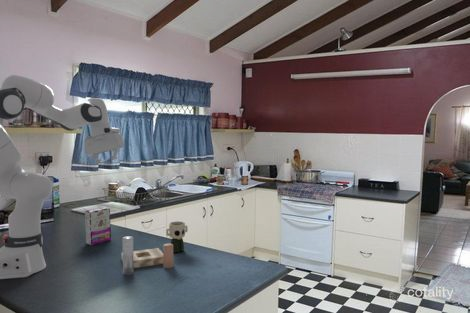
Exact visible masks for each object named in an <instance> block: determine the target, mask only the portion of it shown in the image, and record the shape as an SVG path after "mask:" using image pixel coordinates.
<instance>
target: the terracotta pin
mask: <svg viewBox="0 0 470 313" xmlns="http://www.w3.org/2000/svg"><path fill="white" fill-rule="evenodd" d="M162 245H163V246H162V253H163V268H164V269H172V268H173V267H174V252H173V244H171V243H164V244H162Z"/></svg>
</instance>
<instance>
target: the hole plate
mask: <svg viewBox="0 0 470 313" xmlns="http://www.w3.org/2000/svg"><path fill="white" fill-rule="evenodd" d="M120 256H121V258H120V259H121V261H122V263H123V252H121V254H120ZM133 261H134V269H137V268H143V267H150V266H157V265H162V264H163V251H162V250H161V249H160V248H159V247H154V248H147V249H141V250H139V249H138V250H133Z"/></svg>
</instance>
